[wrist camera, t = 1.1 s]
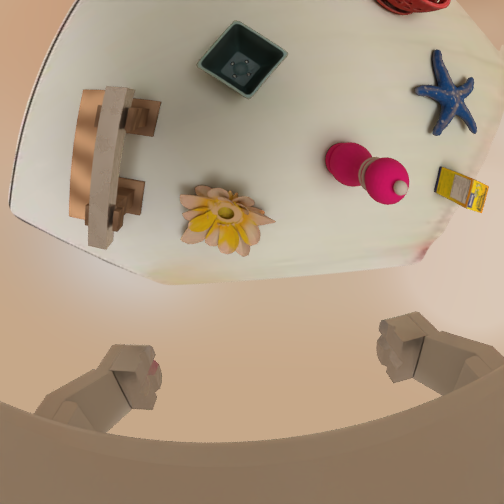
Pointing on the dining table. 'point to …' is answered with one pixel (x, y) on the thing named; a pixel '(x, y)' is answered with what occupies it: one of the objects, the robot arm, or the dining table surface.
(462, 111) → the starfish
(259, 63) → the flower pot
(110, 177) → the steel rail
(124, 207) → the walnut post
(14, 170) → the dining table surface
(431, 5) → the plant pot
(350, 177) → the pepper mill
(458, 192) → the supplement box
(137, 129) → the walnut post
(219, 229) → the decorative flower
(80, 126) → the light wood flat board
